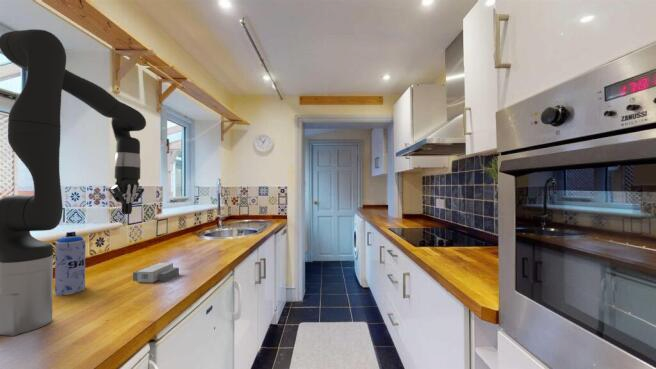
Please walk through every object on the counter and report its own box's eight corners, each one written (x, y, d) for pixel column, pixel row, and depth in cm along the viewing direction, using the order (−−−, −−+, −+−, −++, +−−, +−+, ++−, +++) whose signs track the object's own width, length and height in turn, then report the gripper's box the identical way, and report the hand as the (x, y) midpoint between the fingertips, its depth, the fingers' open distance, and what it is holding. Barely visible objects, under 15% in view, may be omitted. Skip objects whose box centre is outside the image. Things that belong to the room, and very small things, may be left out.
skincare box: (152, 283, 100) (173, 273, 112) (152, 271, 100) (173, 262, 112) (136, 282, 101) (159, 272, 113) (136, 271, 101) (159, 262, 113)
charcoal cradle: (164, 282, 102) (164, 273, 102) (132, 280, 103) (133, 272, 103) (178, 275, 109) (178, 267, 110) (149, 273, 111) (149, 266, 111)
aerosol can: (63, 296, 88) (64, 234, 88) (48, 293, 90) (49, 233, 91) (91, 288, 95) (91, 230, 95) (76, 285, 98) (77, 229, 98)
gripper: (120, 164, 92) (119, 215, 91) (151, 167, 105) (150, 212, 105) (101, 164, 93) (100, 215, 93) (134, 168, 106) (133, 212, 106)
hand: (126, 214), depth 99 cm, fingers closed
